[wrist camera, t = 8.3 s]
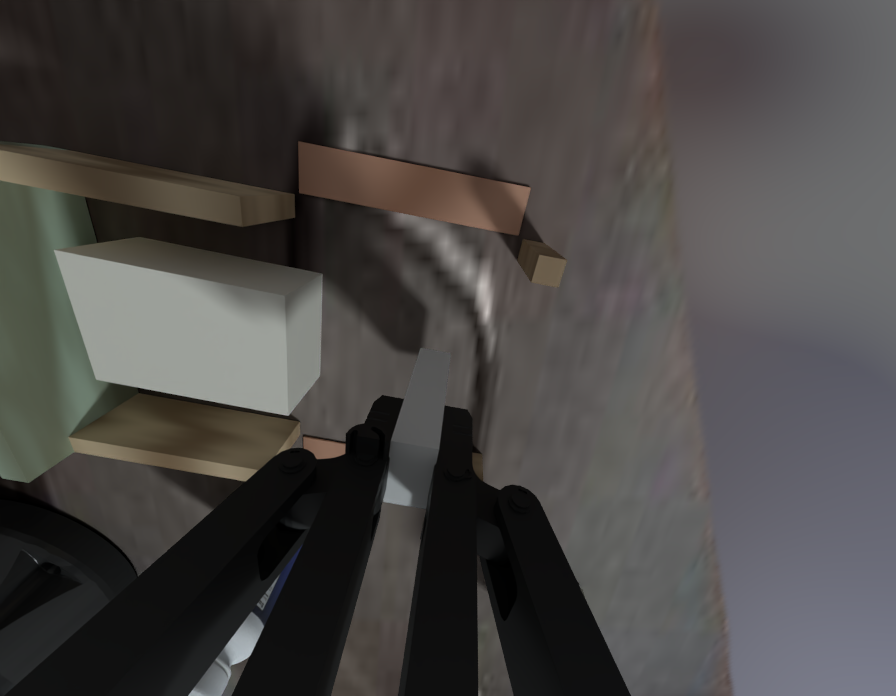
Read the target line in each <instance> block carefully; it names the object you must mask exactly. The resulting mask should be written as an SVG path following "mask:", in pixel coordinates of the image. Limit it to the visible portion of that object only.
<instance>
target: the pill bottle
mask: <svg viewBox="0 0 896 696" xmlns="http://www.w3.org/2000/svg"><path fill="white" fill-rule="evenodd" d="M302 545H303V544H302ZM301 547H302V546H301ZM301 547H300V548H299V549H298V551H297V552H296V553H295V555H294V556H293V557H292V559H291V560H290V561H289V563H288V564H287V565H286V567H285V568H284V569H283V571H282V572H281V573H280V575H279V576H278V577H277V579H276V580H275V581H274V583H273V584H272V585H271V587H270V588H269V589H268V591H267V592H266V593H265V595H264V596H263V597H262V599H261V600H260V601H259V602H258V604H257V605H256V606H255V608H254V609H253V610H252V612H251V613H250V614H249V616H248V617H247V618H246V620H245V621H244V622H243V624H242V625H241V626H240V628H239V629H238V630H237V632H236V633H235V634H234V636H233V637H232V638H231V640H230V641H229V642H228V644H227V645H226V646H225V648H224V649H223V650H222V652H221V653H220V654H219V655H218V657H217V658H216V659H215V661H214V662H213V663H212V665H211V666H210V667H209V669H208V670H207V671H206V673H205V674H204V675H203V677H202V678H201V679H200V681H199V682H198V683H197V685H196V686H195V687H194V689H193V690H192V691H191V693H190V694H189V695H188V696H221V695H222V693H223V691H224V689H225V687H226V685H227V683H228V680H229V678H230V676H231V670H230V667H231V665H233V664H236V663H239V662H241V661H243V660H245V659H246V658H248V657H249V656H250V655H251V653H252V651H253V649H254V647H255V645H256V643H257V641H258V638H259V636H260V634H261V632H262V630H263V628H264V626H265V624H266V621H267V619H268V617H269V615H270V613H271V611H272V609H273V606H274V604H275V602H276V600H277V598H278V596H279V594H280V592H281V589H282V587H283V585H284V583H285V581H286V579H287V577H288V575H289V572H290V570H291V568H292V566H293V564H294V562H295V560H296V558H297V555H298V553H299V551H300V549H301Z"/></svg>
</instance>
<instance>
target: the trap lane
mask: <svg viewBox="0 0 896 696" xmlns="http://www.w3.org/2000/svg"><path fill="white" fill-rule="evenodd" d="M298 156H299V193H302V194H307V195H312V196H317V197H322V198H327V199H333V200H338V201H343V202H348V203H353V204H358V205H363V206H368V207H373V208H379V209H384V210H389V211H394V212H399V213H404V214H409V215H414V216H419V217H425V218H430V219H435V220H440V221H445V222H450V223H455V224H460V225H465V226H471V227H476V228H481V229H486V230H491V231H496V232H501V233H506V234H511V235H517V236H518V235H519V232H520V228H521V224H522V220H523V216H524V212H525V208H526V205H527V201H528V197H529V193H530V189H531V188H530V187H525V186H520V185H515V184H510V183H505V182H500V181H495V180H490V179H485V178H480V177H475V176H470V175H465V174H460V173H455V172H450V171H445V170H440V169H435V168H430V167H425V166H420V165H415V164H410V163H405V162H400V161H395V160H390V159H385V158H380V157H375V156H370V155H365V154H360V153H354V152H349V151H344V150H339V149H334V148H329V147H324V146H319V145H314V144H309V143H304V142H299V141H298ZM85 197H89V198H94V199H99V200H105V201H110V202H115V203H120V204H125V205H131V206H136V207H141V208H146V209H152V210H157V211H162V212H167V213H172V214H178V215H183V216H188V217H193V218H198V219H204V220H209V221H214V222H219V223H224V224H230V225H235V226H240V227H245V226H251V225H257V224H262V223H268V222H274V221H279V220H285V219H291V218H295V194H291V193H286V192H280V191H275V190H270V189H265V188H260V187H255V186H250V185H245V184H240V183H234V182H229V181H224V180H219V179H214V178H209V177H204V176H199V175H193V174H188V173H183V172H178V171H173V170H168V169H163V168H158V167H153V166H147V165H142V164H137V163H132V162H127V161H122V160H117V159H112V158H106V157H101V156H96V155H91V154H86V153H81V152H76V151H71V150H66V149H60V148H55V147H50V146H45V145H36V144H26V143H15V142H5V141H0V475H1V477H2V478H3V479H9V480H15V481H21V482H27V483H29V482H30V481H32V480H33V479H35V478H36V477H38V476H39V475H41V474H42V473H44V472H45V471H47V470H48V469H50V468H51V467H53V466H54V465H56V464H57V463H59V462H60V461H62V460H63V459H65V458H66V457H68V456H69V455H71V454H72V453H74V452H78V453H83V454H89V455H95V456H101V457H107V458H112V459H118V460H124V461H130V462H136V463H141V464H147V465H153V466H159V467H165V468H171V469H176V470H182V471H188V472H194V473H200V474H205V475H211V476H217V477H223V478H229V479H234V480H240V481H247V480H248V479H249V478H250V477H251V476H252V475H254V474H255V473H256V472H257V471H258V470H259V469H260V468H261V467H263V466H264V465H265V464H266V463H267V462H268V461H269V460H271V459H272V458H273V457H274V456H275V455H277V454H279V453H280V452H282V451H285V450H288V449H290V448H291V447H292V445H293V444H294V442H295V441H296V439H297V438H298V437H299V435H300V422H299V421H293V420H287V419H282V418H276V417H271V416H265V415H259V414H254V413H248V412H242V411H237V410H231V409H226V408H220V407H214V406H209V405H203V404H197V403H192V402H186V401H180V400H175V399H169V398H164V397H158V396H152V395H147V394H141V393H139V392H138V388H137V387H132V386H127V385H122V384H116V383H111V382H106V381H100V380H96V378H95V375H94V372H93V369H92V366H91V363H90V359H89V356H88V353H87V350H86V347H85V344H84V341H83V338H82V335H81V332H80V329H79V326H78V323H77V320H76V317H75V314H74V310H73V307H72V304H71V301H70V298H69V295H68V292H67V289H66V286H65V283H64V280H63V277H62V274H61V271H60V268H59V265H58V261H57V258H56V255H55V252H54V250H56V249H63V248H69V247H76V246H82V245H89V244H95V243H97V240H96V236H95V233H94V229H93V226H92V222H91V218H90V215H89V211H88V208H87V204H86V200H85ZM517 261H518V263H519V264H520V266H521V267H522V269H523V270H524V272H525V274H526V275H527V277H528V278H529V280H530V281H531V282H532V283H537V284H542V285H547V286H552V287H558V286H559V283H560V280H561V277H562V274H563V271H564V268H565V265H566V262H567V260H566V259H565V258H564V257H562V256H561V255H560V254H558V253H557V252H556V251H554V250H553V249H552V248H550V247H549V246H547V245H546V244H545V243H541V242H536V241H531V240H526V239H523V240H522V244H521V248H520V251H519V255H518V259H517ZM303 444H304V449H307V450H309V451H311V452H312V453H314V455H315V457H316V459H326V458H334V457H338V456H341V455H343V454H345V445H346V443H341V442H335V441H329V440H324V439H318V438H312V437H307V436H304V437H303ZM472 464H473V469H474V471H475V473H476V475H477V476H478V477H479V478H480V479H481V480H482V481H483V466H482V454H479V453H473V452H472Z"/></svg>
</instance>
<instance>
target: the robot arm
mask: <svg viewBox="0 0 896 696" xmlns="http://www.w3.org/2000/svg"><path fill="white" fill-rule="evenodd" d="M450 358H451V353H448V352H442V351H437V350H431V349H426V348H420V351H419V354H418V357H417V360H416V363H415V366H414V370H413V373H412V376H411V379H410V382H409V385H408V388H407V392H406V395H405V398H404V399H401V398H395V397H390V396H384V395H382V396H381V397H380V398H378V399H377V400H376V401H374V403H373V405H372V408H371V410H370V412H369V414H368V416H367V419H366V421H365V423H364V424H359V425H356V426H354V427H352V428H351V429H350V430H349V431H348V432H347V433H346V445H345V454H343V455H341V456H338V457H334V458H326V459H316V457H315V455H314V453H312V452H311V451H309V450H307V449H302V448H292V449H288V450H285V451H282V452H280V453H279V454H277V455H275V456H274V457H273V458H272V459H271V460H269V461H268V462H267V463H266V464H265V465H264V466H263V467H261V468H260V469H259V470H258V471H257V472H256V473H255V474H254V475H252V476H251V477H250V478H249V479H248V480H247V481H246V482H245V483H243V484H242V485H241V486H240V487H239V488H238V489H237V490H236V491H234V492H233V493H232V494H231V495H230V496H229V497H228V498H226V499H225V500H224V501H223V502H222V503H221V504H220V505H219V506H217V507H216V508H215V509H214V510H213V511H212V512H211V513H210V514H208V515H207V516H206V517H205V518H204V519H203V520H202V521H201V522H199V523H198V524H197V525H196V526H195V527H194V528H193V529H191V530H190V531H189V532H188V533H187V534H186V535H185V536H184V537H182V538H181V539H180V540H179V541H178V542H177V543H176V544H175V545H173V546H172V547H171V548H170V549H169V550H168V551H167V552H166V553H164V554H163V555H162V556H161V557H160V558H159V559H158V560H156V561H155V562H154V563H153V564H152V565H151V566H150V567H149V568H147V569H146V570H145V571H144V572H143V573H142V574H141V575H140V576H138V577H137V576H136V574H135V571H134V570H133V568H132V566H131V565H130V564H129V562H128V561H127V560H126V559H125V558H124V556H123V555H122V554H121V553H120V552H119V551H118V550H117V549H115V548H114V547H113V546H112V545H111V544H109V543H108V542H107V541H106V540H104V539H103V538H102V537H100V536H99V535H97V534H96V533H94V532H92V531H91V530H89V529H87V528H86V527H84V526H82V525H80V524H78V523H76V522H74V521H72V520H70V519H68V518H66V517H64V516H61V515H59V514H56V513H54V512H51V511H49V510H46V509H43V508H39V507H36V506H33V505H29V504H25V503H20V502H15V501H9V500H0V696H188V695H189V694H190V693H191V691H192V690H193V689H194V687H195V686H196V685H197V683H198V682H199V681H200V679H201V678H202V677H203V675H204V674H205V673H206V671H207V670H208V669H209V667H210V666H211V665H212V663H213V662H214V661H215V659H216V658H217V657H218V655H219V654H220V653H221V652H222V650H223V649H224V648H225V646H226V645H227V644H228V642H229V641H230V640H231V638H232V637H233V636H234V634H235V633H236V632H237V630H238V629H239V628H240V626H241V625H242V624H243V622H244V621H245V620H246V618H247V617H248V616H249V614H250V613H251V612H252V610H253V609H254V608H255V606H256V605H257V604H258V602H259V601H260V600H261V599H262V597H263V596H264V595H265V593H266V592H267V591H268V589H269V588H270V587H271V585H272V584H273V583H274V581H275V580H276V579H277V577H278V576H279V575H280V573H281V572H282V571H283V569H284V568H285V567H286V565H287V564H288V563H289V561H290V560H291V559H292V557H293V556H294V555H295V553H296V552H297V551H298V549H299V548H300V547H301V546H302V547H301V549H300V551H299V553H298V555H297V558H296V560H295V562H294V564H293V566H292V568H291V570H290V572H289V575H288V577H287V579H286V581H285V583H284V585H283V587H282V589H281V592H280V594H279V596H278V598H277V600H276V602H275V604H274V606H273V609H272V611H271V613H270V615H269V617H268V619H267V621H266V624H265V626H264V628H263V630H262V632H261V634H260V636H259V638H258V641H257V643H256V645H255V647H254V649H253V651H252V653H251V655H250V658H249V660H248V662H247V664H246V666H245V668H244V670H243V673H242V675H241V677H240V679H239V681H238V683H237V685H236V687H235V690H234V692H233V694H232V696H331V693H332V689H333V686H334V682H335V678H336V675H337V671H338V667H339V664H340V660H341V656H342V653H343V649H344V646H345V642H346V638H347V635H348V631H349V627H350V624H351V620H352V616H353V613H354V609H355V606H356V602H357V598H358V595H359V591H360V587H361V584H362V580H363V577H364V573H365V569H366V566H367V562H368V558H369V555H370V551H371V547H372V544H373V540H374V537H375V533H376V529H377V526H378V522H379V518H380V512H381V505H382V502H388V503H393V504H399V505H405V506H411V507H416V508H422V509H426V514H425V518H424V523H423V528H422V533H421V537H420V539H421V543H420V550H419V557H418V564H417V570H416V577H415V584H414V591H413V598H412V604H411V611H410V618H409V625H408V632H407V638H406V645H405V652H404V659H403V666H402V672H401V679H400V686H399V693H398V696H478V627H477V555H479V556H480V562H481V566H482V570H483V574H484V578H485V582H486V586H487V590H488V594H489V598H490V602H491V606H492V610H493V614H494V618H495V622H496V626H497V630H498V634H499V638H500V642H501V646H502V650H503V654H504V658H505V662H506V666H507V670H508V674H509V678H510V682H511V686H512V690H513V694H514V696H631V695H630V693H629V691H628V689H627V686H626V684H625V682H624V680H623V678H622V676H621V674H620V672H619V669H618V667H617V665H616V663H615V661H614V659H613V657H612V655H611V652H610V650H609V648H608V646H607V644H606V642H605V640H604V638H603V635H602V633H601V631H600V629H599V627H598V625H597V623H596V621H595V618H594V616H593V614H592V612H591V610H590V608H589V606H588V604H587V601H586V599H585V597H584V595H583V593H582V591H581V589H580V587H579V584H578V582H577V580H576V578H575V576H574V574H573V572H572V570H571V567H570V565H569V563H568V561H567V559H566V557H565V555H564V553H563V550H562V548H561V546H560V544H559V542H558V540H557V538H556V536H555V533H554V531H553V529H552V527H551V525H550V523H549V521H548V519H547V516H546V514H545V512H544V510H543V508H542V506H541V504H540V502H539V500H538V499H537V497H536V496H535V495H534V494H533V493H532V492H530V491H529V490H528V489H526V488H524V487H521V486H517V485H509V486H505V487H504V488H502V489H501V490H498V489H496V488H494V487H492V486H490V485H488V484H486V483H485V482H483V481H482V480H481V479H480V478H479V477H478V476H477V475H476V473H475V471H474V469H473V464H472V417H471V415H470V413H469V412H468V410H466V409H461V408H455V407H450V406H445V398H446V390H447V382H448V374H449V366H450ZM383 498H384V500H383ZM302 544H303V545H302Z"/></svg>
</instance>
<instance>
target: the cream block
mask: <svg viewBox="0 0 896 696" xmlns="http://www.w3.org/2000/svg"><path fill="white" fill-rule="evenodd" d="M54 252H55V255H56V258H57V261H58V265H59V268H60V271H61V274H62V277H63V280H64V283H65V286H66V289H67V292H68V295H69V298H70V301H71V304H72V307H73V310H74V314H75V317H76V320H77V323H78V326H79V329H80V332H81V335H82V338H83V341H84V344H85V347H86V350H87V353H88V356H89V359H90V363H91V366H92V369H93V372H94V375H95V378H96V380H100V381H106V382H111V383H116V384H122V385H127V386H132V387H138V388H143V389H148V390H153V391H159V392H164V393H169V394H175V395H180V396H185V397H191V398H196V399H201V400H207V401H212V402H217V403H223V404H228V405H233V406H239V407H244V408H249V409H254V410H260V411H265V412H270V413H276V414H281V415H286V416H289V414H290V413H291V412H292V411H293V409H294V408H295V407H296V406H297V404H298V403H299V402H300V401H301V399H302V398H303V397H304V395H305V394H306V393H307V392H308V390H309V389H310V388H311V387H312V385H313V384H314V383H315V382H316V380H317V379H318V378H319V376H320V360H321V319H322V277H323V274H322V273H317V272H312V271H307V270H302V269H297V268H292V267H287V266H282V265H277V264H272V263H267V262H262V261H257V260H252V259H248V258H243V257H238V256H233V255H228V254H223V253H218V252H213V251H208V250H203V249H198V248H193V247H188V246H183V245H178V244H173V243H168V242H163V241H158V240H153V239H148V238H143V237H135V238H128V239H121V240H115V241H108V242H102V243H95V244H89V245H82V246H76V247H69V248H63V249H56V250H54Z"/></svg>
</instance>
